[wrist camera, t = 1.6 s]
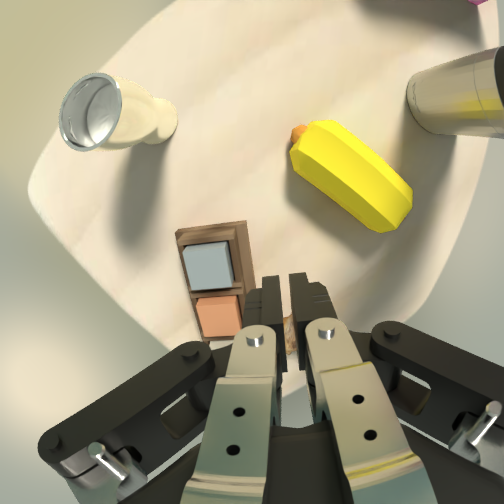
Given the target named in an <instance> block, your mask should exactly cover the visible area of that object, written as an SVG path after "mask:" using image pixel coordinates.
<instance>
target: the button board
mask: <svg viewBox="0 0 504 504" xmlns="http://www.w3.org/2000/svg"><path fill="white" fill-rule="evenodd" d="M175 236H176V240H177V245H178V249H179V253H180V258H181V262H182V266H183V270H184V274H185V278H186V282H187V286H188V290H189V293H190V297H191V301H192V305H193V308H194V312H195V315H196V319H197V322H198V326H199V329H200V333H201V336H202V339H203V342H204V343H206V344H208V345H210V341H218V340H234V337H235V335H234V336H215V337H204V334H203V330H202V327H201V323H200V319H199V316H198V312H197V309H196V304H197V302H198V299H199V298H200V297H213V296H225V295H237V294H238V299H239V305H240V310H241V315H242V321H243V313H244V305H245V297H246V295H247V294H248V292H249V291H250V290H251V289H256V285H255V278H254V271H253V264H252V257H251V250H250V243H249V236H248V229H247V222H246V220H245V221H237V222H229V223H221V224H213V225H206V226H198V227H191V228H183V229H178V230H177V231H176V232H175ZM223 240H228V243H229V248H230V254H231V260H232V266H233V271H234V279H233V284H232V287H225V288H213V289H201V290H191V286H190V282H189V278H188V274H187V270H186V266H185V261H184V257H183V253H182V252H183V251H184V249H185V248H186V247H187V245H189V244H197V243H206V242H214V241H223Z"/></svg>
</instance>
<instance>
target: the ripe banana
mask: <svg viewBox="0 0 504 504" xmlns="http://www.w3.org/2000/svg"><path fill="white" fill-rule="evenodd" d="M291 141H292V142H293V143H294V145H293V146H292V148H291V150H290V151H289V153H290V157H291V161H292V165H293V169H294V171H295V172H296V173H298V174H299V175H300V176H302V177H303V178H304V179H306V180H307V181H309V182H310V183H311V184H313V185H314V186H315V187H317V188H318V189H319V190H321V191H322V192H323V193H325V194H326V195H327V196H329V197H330V198H331V199H332V200H334V201H335V202H336V203H338V204H339V205H340V206H341V207H343V208H344V209H345V210H347V211H348V212H349V213H350V214H352V215H353V216H354V217H355V218H356V219H358V220H359V221H360V222H361V223H363V224H364V225H365V226H366V227H367V228H369V229H370V230H373V231H376V232H379V233H384V232H388V231H392V230H396V229H397V228H398V226H399V225H400V223H401V222H402V221H403V220H404V218H405V216H406V215H407V214H408V213H409V211H410V210H411V209H412V201H413V190H412V189H411V188H410V187H409V185H408V184H407V183H406V182H405V181H404V180H403V179H402V178H401V177H400V176H399V175H398V174H397V173H396V172H395V171H394V170H393V169H392V168H391V167H390V166H389V165H388V164H387V163H386V162H385V161H384V160H383V159H382V158H381V157H379V156H378V155H377V154H376V153H375V152H374V151H373V150H371V149H370V148H369V147H368V146H367V145H365V144H364V143H363V142H362V141H361V140H359V139H358V138H357V137H356V136H354V135H353V134H352V133H351V132H349V131H348V130H347V129H345V128H344V127H343V126H341V125H340V124H339V123H337V122H336V121H334V120H323V121H312V122H310V123H309V125H308V126H304V125H299V126H298V127H296V128H294V129H292V134H291Z"/></svg>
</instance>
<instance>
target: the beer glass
mask: <svg viewBox="0 0 504 504" xmlns="http://www.w3.org/2000/svg"><path fill="white" fill-rule="evenodd" d="M177 122H178V115H177V111H176V109H175V107H174V106H173V104H172V103H170V102H169V101H167V100H165V99H162V98H153V96H152V95H151V94H150V93H149V92H148V91H146V90H145V89H144V88H143V87H141V86H140V85H138V84H136V83H134V82H132V81H130V80H127V79H124V78H121V77H117V76H112V75H107V74H104V73H92V74H89V75H86V76H84V77H82V78H81V79H79V80H78V81H77V82H76V83H75V84H74V85H73V86H72V87H71V88H70V89H69V91H68V92H67V94H66V96H65V97H64V100H63V102H62V105H61V108H60V113H59V128H60V132H61V135H62V137H63V139H64V141H65V142H66V144H67V145H68V146H69V147H71V148H72V149H74V150H77V151H81V152H86V151H97V152H104V151H116V150H122V149H125V148H128V147H131V146H134V145H136V144H138V143H141V142H144V143H147V144H159V143H162V142H164V141H166V140H167V139H168V138H169V137H170V136H171V135H172V134H173V133H174V131H175V129H176V126H177Z"/></svg>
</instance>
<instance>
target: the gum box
mask: <svg viewBox="0 0 504 504" xmlns="http://www.w3.org/2000/svg"><path fill="white" fill-rule="evenodd" d="M468 1H470V2H472V3H473V4H475V5H479V4H481V3H483V2H486V1H488V0H468Z"/></svg>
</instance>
